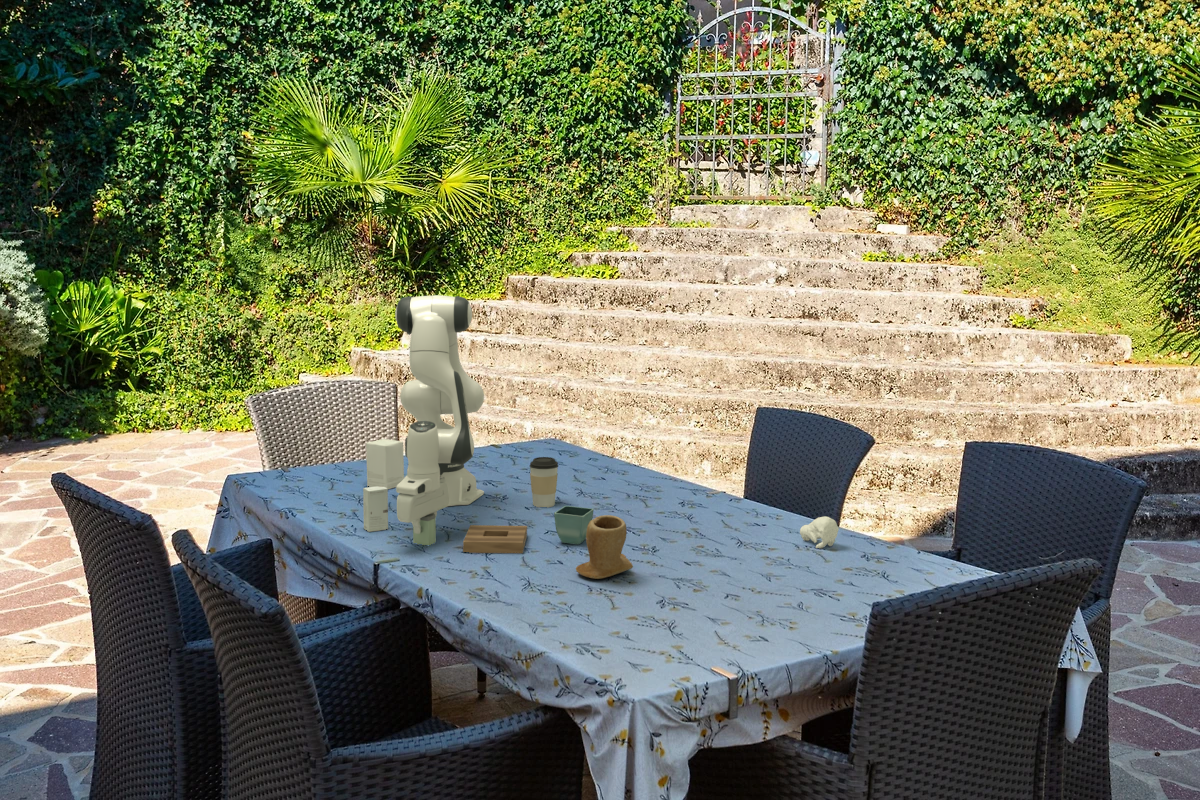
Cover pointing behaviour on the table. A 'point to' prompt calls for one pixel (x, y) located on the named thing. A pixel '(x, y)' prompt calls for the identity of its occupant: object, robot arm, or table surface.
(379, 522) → the skincare box
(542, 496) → the coffee cup
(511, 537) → the walnut slot block
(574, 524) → the flower pot
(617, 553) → the stone cup
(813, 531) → the cream animal figurine
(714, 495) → the table surface
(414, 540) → the keyed peg
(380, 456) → the supplement box
